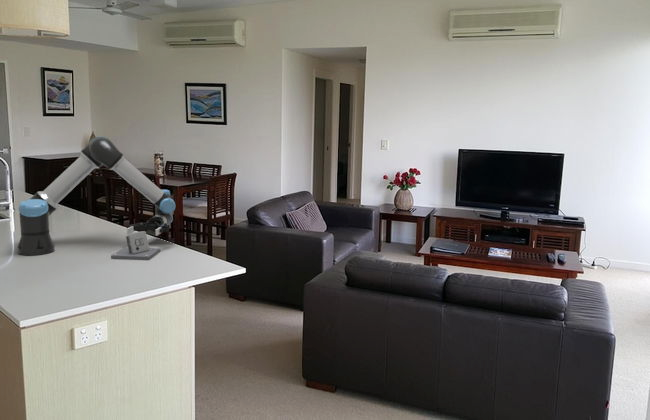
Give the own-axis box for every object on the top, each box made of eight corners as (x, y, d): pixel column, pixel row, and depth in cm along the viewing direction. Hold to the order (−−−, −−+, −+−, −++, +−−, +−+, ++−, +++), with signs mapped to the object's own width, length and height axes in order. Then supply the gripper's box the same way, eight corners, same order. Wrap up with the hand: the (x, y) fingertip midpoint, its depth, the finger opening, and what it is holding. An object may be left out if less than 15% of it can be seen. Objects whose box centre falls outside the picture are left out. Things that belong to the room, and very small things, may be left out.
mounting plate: (111, 258, 248) (110, 254, 247) (124, 250, 263) (124, 246, 263) (148, 260, 247) (148, 256, 247) (160, 251, 263) (160, 247, 263)
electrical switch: (133, 254, 250) (131, 234, 249) (125, 254, 253) (123, 233, 252) (150, 250, 258) (148, 230, 257) (142, 250, 261) (140, 230, 259)
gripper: (181, 231, 282) (168, 240, 261) (132, 229, 283) (115, 239, 262) (181, 216, 281) (168, 225, 260) (132, 215, 281) (115, 223, 260)
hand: (141, 232), depth 261 cm, fingers open, 13 cm apart
